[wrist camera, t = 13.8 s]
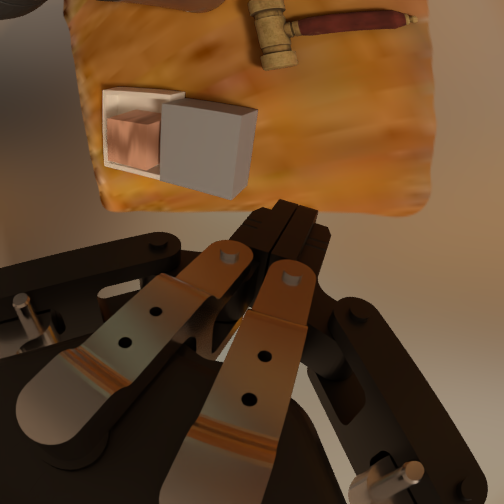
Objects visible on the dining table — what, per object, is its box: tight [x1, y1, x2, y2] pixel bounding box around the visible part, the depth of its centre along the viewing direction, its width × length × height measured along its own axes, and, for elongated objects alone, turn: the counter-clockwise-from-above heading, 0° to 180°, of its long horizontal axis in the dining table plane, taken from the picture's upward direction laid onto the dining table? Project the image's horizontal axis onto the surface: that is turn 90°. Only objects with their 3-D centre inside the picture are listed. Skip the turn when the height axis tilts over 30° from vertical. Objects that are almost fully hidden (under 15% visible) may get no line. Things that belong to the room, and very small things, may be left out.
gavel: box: [248, 0, 417, 71], centre depth 31 cm, size 21×5×10 cm
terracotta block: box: [107, 110, 162, 171], centre depth 46 cm, size 7×7×8 cm
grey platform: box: [160, 98, 258, 200], centre depth 45 cm, size 12×12×6 cm
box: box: [103, 87, 185, 180], centre depth 48 cm, size 14×14×4 cm
